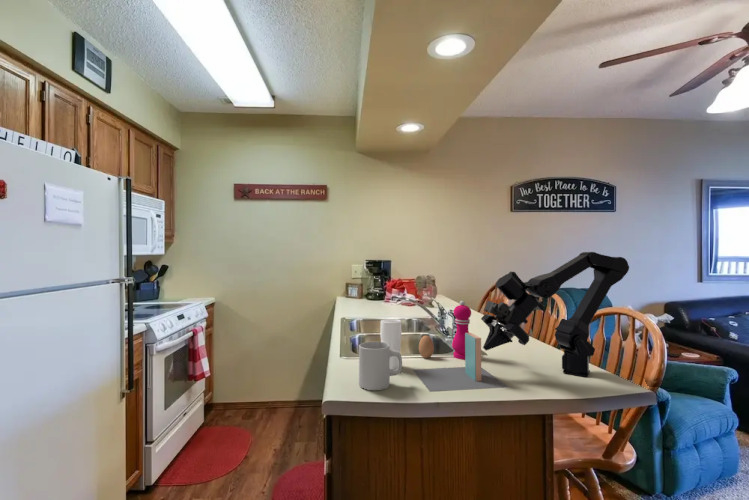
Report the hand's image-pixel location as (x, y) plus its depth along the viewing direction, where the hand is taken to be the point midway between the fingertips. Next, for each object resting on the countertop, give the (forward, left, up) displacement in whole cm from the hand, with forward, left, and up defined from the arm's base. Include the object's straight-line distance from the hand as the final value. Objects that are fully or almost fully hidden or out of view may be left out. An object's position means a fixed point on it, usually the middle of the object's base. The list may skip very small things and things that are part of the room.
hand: (484, 349), depth 103 cm
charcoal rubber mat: (+6, +6, -8) cm, 12 cm away
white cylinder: (+27, +9, -8) cm, 30 cm away
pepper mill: (+13, -15, -8) cm, 22 cm away
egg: (+23, -7, -8) cm, 26 cm away
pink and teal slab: (+2, +3, -8) cm, 9 cm away
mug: (+21, +23, -8) cm, 32 cm away
